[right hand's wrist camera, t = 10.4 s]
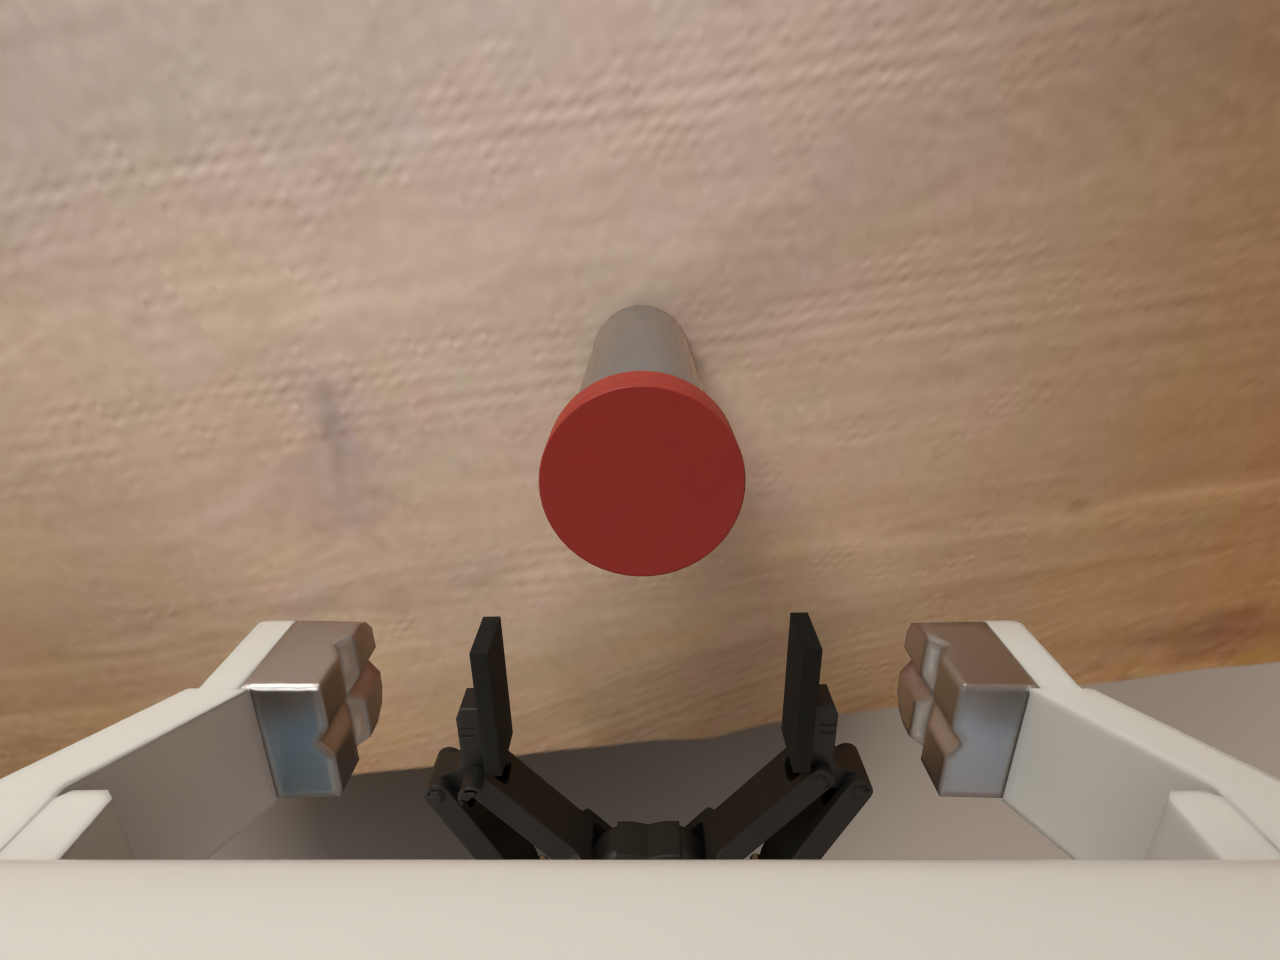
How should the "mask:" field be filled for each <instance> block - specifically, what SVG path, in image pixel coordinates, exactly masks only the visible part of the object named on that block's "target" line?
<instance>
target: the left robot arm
mask: <svg viewBox="0 0 1280 960" xmlns="http://www.w3.org/2000/svg"><path fill="white" fill-rule="evenodd" d="M821 659H822V647H821V645H820V642H819V640H818V637H817V635H816V632H815V630H814V627H813V625H812V622H811V620H810V617H809V615H808V613H791V614H790V627H789V640H788V653H787V666H786V679H785V692H784V704H783V717H782V732H783V736H784V740H785V744H786V748H785V749H784V750H783V751H782V752H781V753H780V754H778V755H777V756H776V757H775V758H774V759H773V760H772V761H770V762H769V763H768V764H767V765H766V766H765V767H763V768H762V769H761V770H760V771H759V772H758V773H757V774H755V775H754V776H753V777H752V778H751V779H750V780H748V781H747V782H746V783H745V784H744V785H743V786H742V787H740V788H739V789H738V790H737V791H736V792H735V793H734V794H732V795H731V796H730V797H729V798H728V799H727V800H725V801H724V802H723V803H722V804H721V805H720V806H719V807H717V808H716V809H715V810H713V809H712V808H706V809H705V810H704V811H703V812H701V813H700V814H699V815H698V816H697V817H696V818H695V819H694V820H692V821H691V822H690V823H689V824H688V825H687V826H685V827H682V826H679V821H663V822H658V823H654V824H643V823H637V822H618V825H617V827H614V828H612V827H611V826H609V825H608V824H607V823H606V822H605V821H603V820H602V819H601V818H600V817H599V816H597V815H596V814H595V813H594V812H593V811H591V810H590V809H585V810H584V811H581V810H580V809H578V808H577V807H576V806H575V805H574V804H572V803H571V802H570V801H569V800H568V799H566V798H565V797H564V796H563V795H562V794H560V793H559V792H558V791H557V790H555V789H554V788H553V787H552V786H551V785H549V784H548V783H547V782H546V781H544V780H543V779H542V778H541V777H540V776H539V775H537V774H536V773H535V772H534V771H532V770H531V769H530V768H529V767H528V766H526V765H525V764H524V763H523V762H522V761H520V760H519V759H518V758H517V757H516V756H514V755H513V754H512V753H511V752H509V751H508V750H509V746H510V742H511V737H512V733H513V731H512V721H511V712H510V703H509V693H508V684H507V675H506V665H505V656H504V647H503V637H502V628H501V619H500V617H483V619H482V622H481V625H480V627H479V630H478V633H477V635H476V638H475V640H474V643H473V646H472V648H471V651H470V662H471V669H472V677H473V685H474V688H467V689H466V692H465V695H464V698H463V701H462V703H461V706H460V709H459V712H458V715H457V718H456V721H457V728H458V735H459V742H460V749H461V750H458V749H456V748H453V747H446V748H443V749H442V750H440V752H439V754H438V756H437V759H436V762H435V765H434V767H433V770H432V773H431V776H430V778H429V781H428V784H427V787H426V789H425V792H424V798H425V800H426V801H427V802H428V804H429V805H430V806H431V807H432V808H433V810H434V811H435V812H436V813H437V814H438V816H439V817H440V818H441V819H442V820H443V821H444V823H445V824H446V825H447V826H448V827H449V829H450V830H451V831H452V832H453V833H454V835H455V836H456V837H457V838H458V839H459V840H460V842H461V843H462V844H463V845H464V846H465V848H466V849H467V850H468V851H469V852H470V854H471V855H472V856H473V857H474V858H475V859H476V860H548V858H547V857H546V856H544V855H541V856H539V857H538V854H537V851H536V849H535V847H534V845H535V846H536V847H537V848H538V849H540V850H541V851H542V852H544V853H545V854H546V855H547V856H549V857H550V858H551V859H552V860H743V859H744V858H746V857H747V856H748V855H749V854H750V853H752V852H753V851H754V850H755V849H756V848H758V847H759V846H760V845H761V844H762V843H764V842H765V843H764V845H763V847H762V849H761V852H760V855H759V854H752V855H751V856H750V860H820V859H821V858H822V857H823V856H824V854H825V853H826V852H827V851H828V849H829V848H830V847H831V846H832V844H833V843H834V842H835V841H836V839H837V838H838V837H839V836H840V834H841V833H842V832H843V831H844V829H845V828H846V827H847V826H848V824H849V823H850V822H851V821H852V819H853V818H854V817H855V816H856V814H857V813H858V812H859V811H860V809H861V808H862V807H863V806H864V804H865V803H866V802H867V801H868V799H869V798H870V797H871V795H872V793H873V789H872V786H871V783H870V781H869V778H868V776H867V773H866V771H865V768H864V766H863V763H862V761H861V758H860V755H859V753H858V750H857V748H856V747H855V746H854V745H852V744H850V743H842V744H840V745H838V746H835V737H836V729H837V720H838V713H837V710H836V708H835V705H834V703H833V700H832V697H831V695H830V692H829V690H828V687H827V684H822V685H819V679H820V669H821Z"/></svg>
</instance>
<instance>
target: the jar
mask: <svg viewBox="0 0 1280 960" xmlns="http://www.w3.org/2000/svg"><path fill="white" fill-rule="evenodd" d="M630 371H654V372H661V373H665V374H669V375H673V376H676V377H678V378H681V379H684V380H686V381H687V382H689V383H691V384H693V385H695V386H696V387H698V388H699V389H701V390H702V391H703V392H704V389H703V386H702V383H701V380H700V377H699V374H698V371H697V368H696V365H695V362H694V359H693V356H692V353H691V350H690V347H689V344H688V341H687V338H686V336H685V333H684V331H683V330H682V328H681V326H680V325H679V324H678V323H677V321H676V320H675V319H674V318H673V317H671V316H670V315H669V314H667V313H665V312H664V311H662V310H659V309H657V308H653V307H648V306H635V307H630V308H627V309H624V310H621V311H619V312H618V313H616V314H614V315H613V316H612V317H611V318H609V319H608V320H607V321H606V322H605V324H604V325H603V326H602V328H601V329H600V331H599V333H598V335H597V338H596V341H595V344H594V347H593V350H592V353H591V357H590V360H589V363H588V366H587V369H586V372H585V375H584V379H583V382H582V385H581V388H580V391H579V393H580V392H581V391H582V390H583V389H585V388H586V387H588V386H590V385H591V384H593V383H595V382H597V381H599V380H601V379H603V378H606V377H608V376H612V375H615V374H618V373H624V372H630Z"/></svg>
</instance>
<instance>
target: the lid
mask: <svg viewBox="0 0 1280 960" xmlns="http://www.w3.org/2000/svg"><path fill="white" fill-rule="evenodd" d="M539 490H540V497H541V502H542V506H543V509H544V511H545V514H546V517H547V519H548V521H549V523H550V524H551V526H552V528H553V530H554V531H555V532H556V534H557V535H558V537H559V538H560V539H561V540H562V541H563V542H564V543H565V545H566V546H567V547H568V548H569V549H570V550H572V551H573V552H574V553H575V554H577V555H578V556H579V557H581V558H582V559H584V560H585V561H587V562H589V563H590V564H593V565H595V566H597V567H599V568H601V569H604V570H607V571H610V572H613V573H618V574H623V575H629V576H655V575H662V574H667V573H670V572H674V571H677V570H680V569H683V568H685V567H688V566H690V565H691V564H693V563H695V562H697V561H699V560H700V559H702V558H703V557H705V556H706V555H708V554H709V553H710V552H711V551H712V550H713V549H715V548H716V547H717V546H718V545H719V544H720V543H721V542H722V540H723V539H724V538H725V537H726V536H727V534H728V533H729V531H730V530H731V528H732V527H733V525H734V523H735V521H736V519H737V517H738V515H739V512H740V509H741V506H742V503H743V498H744V493H745V469H744V462H743V459H742V455H741V451H740V449H739V446H738V444H737V441H736V439H735V436H734V434H733V431H732V429H731V426H730V424H729V422H728V420H727V418H726V417H725V415H724V413H723V412H722V410H721V409H720V408H719V407H718V405H717V404H716V403H715V402H714V401H713V400H712V399H711V398H710V397H709V396H708V395H707V394H706V393H705V392H703V391H702V390H701V389H699V388H698V387H696V386H695V385H693V384H691V383H689V382H687V381H686V380H684V379H681V378H678V377H676V376H673V375H669V374H665V373H661V372H654V371H630V372H624V373H618V374H615V375H612V376H608V377H606V378H603V379H601V380H599V381H597V382H595V383H593V384H591V385H590V386H588V387H586V388H585V389H583V390H582V391H581V392H580V393H578V394H577V395H576V396H575V397H574V398H573V399H572V400H571V401H570V402H569V403H568V404H567V405H566V406H565V408H564V409H563V411H562V412H561V414H560V415H559V417H558V418H557V420H556V422H555V424H554V426H553V429H552V431H551V434H550V436H549V439H548V442H547V444H546V447H545V450H544V453H543V456H542V459H541V464H540V469H539Z"/></svg>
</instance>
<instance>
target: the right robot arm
mask: <svg viewBox="0 0 1280 960" xmlns="http://www.w3.org/2000/svg"><path fill="white" fill-rule="evenodd" d="M375 647H376V646H375V641H374V636H373V631H372V628H371V627H370V626H369V625H368V624H367V623H366V622H338V621H296V620H289V621H265V622H261V623H258V624H257V625H256V627H255V628H254V629H253V630H252V631H251V632H250V633H249V634H248V635H247V636H246V638H245V639H244V640H243V641H242V642H241V643H240V644H239V645H238V646H237V647H236V648H235V650H234V651H233V652H232V653H231V654H230V655H229V656H228V657H227V658H226V659H225V660H224V662H223V663H222V664H221V665H220V666H219V667H218V668H217V669H216V670H215V671H214V673H213V674H212V675H211V676H210V677H209V678H208V679H207V680H206V681H205V682H204V683H203V685H202V686H201V687H200V688H199V689H186V690H184V691H182V692H180V693H178V694H175V695H173V696H171V697H169V698H167V699H165V700H163V701H161V702H159V703H157V704H155V705H153V706H151V707H149V708H146V709H144V710H142V711H140V712H138V713H136V714H134V715H132V716H130V717H128V718H126V719H124V720H122V721H120V722H118V723H115V724H113V725H111V726H109V727H107V728H105V729H103V730H101V731H99V732H97V733H95V734H93V735H91V736H89V737H86V738H84V739H82V740H80V741H78V742H76V743H74V744H72V745H70V746H68V747H66V748H64V749H62V750H60V751H57V752H55V753H53V754H51V755H49V756H47V757H45V758H43V759H41V760H39V761H37V762H35V763H33V764H31V765H28V766H26V767H24V768H22V769H20V770H18V771H16V772H14V773H12V774H10V775H8V776H6V777H4V778H2V779H0V960H1280V779H1278V778H1276V777H1274V776H1272V775H1270V774H1267V773H1265V772H1263V771H1261V770H1259V769H1257V768H1255V767H1253V766H1251V765H1249V764H1247V763H1245V762H1243V761H1241V760H1239V759H1237V758H1234V757H1232V756H1230V755H1228V754H1226V753H1224V752H1222V751H1220V750H1218V749H1216V748H1214V747H1212V746H1210V745H1208V744H1206V743H1204V742H1202V741H1199V740H1197V739H1195V738H1193V737H1191V736H1189V735H1187V734H1185V733H1183V732H1181V731H1179V730H1177V729H1175V728H1173V727H1170V726H1168V725H1166V724H1164V723H1162V722H1160V721H1158V720H1156V719H1154V718H1152V717H1150V716H1148V715H1146V714H1144V713H1142V712H1140V711H1137V710H1135V709H1133V708H1131V707H1129V706H1127V705H1125V704H1123V703H1121V702H1119V701H1117V700H1115V699H1113V698H1111V697H1109V696H1107V695H1104V694H1102V693H1100V692H1098V691H1096V690H1094V689H1081V688H1080V687H1079V686H1078V685H1077V683H1076V682H1075V681H1074V680H1073V679H1072V678H1071V677H1070V676H1069V675H1068V674H1067V673H1066V671H1065V670H1064V669H1063V668H1062V667H1061V666H1060V665H1059V664H1058V663H1057V662H1056V660H1055V659H1054V658H1053V657H1052V656H1051V655H1050V654H1049V653H1048V652H1047V651H1046V650H1045V648H1044V647H1043V646H1042V645H1041V644H1040V643H1039V642H1038V641H1037V640H1036V639H1035V637H1034V636H1033V635H1032V634H1031V633H1030V632H1029V631H1028V630H1027V629H1026V628H1025V627H1024V625H1023V624H1021V623H1019V622H1017V621H1014V620H1001V621H979V622H941V623H911V625H910V627H909V629H908V631H907V635H906V640H905V645H904V647H905V649H906V651H907V652H908V654H909V656H910V658H911V659H912V660H911V661H910V662H909V663H908V664H907V665H906V666H905V667H904V668H903V669H902V670H901V671H900V675H899V683H898V703H899V711H900V715H901V718H902V722H903V724H904V726H905V729H906V731H907V733H908V735H909V736H910V737H911V738H912V739H914V740H915V741H917V742H918V743H920V744H921V745H923V750H922V756H921V761H922V763H923V765H924V767H925V769H926V770H927V772H928V774H929V776H930V778H931V780H932V782H933V784H934V786H935V788H936V790H937V792H938V794H939V796H952V797H989V798H1003V799H1002V801H1003V802H1004V803H1005V804H1007V805H1008V806H1009V807H1010V808H1012V809H1013V810H1014V811H1015V812H1016V813H1018V814H1019V815H1020V816H1021V817H1022V818H1024V819H1025V820H1026V821H1027V822H1028V823H1030V824H1031V825H1032V826H1033V827H1034V828H1036V829H1037V830H1038V831H1039V832H1041V833H1042V834H1043V835H1044V836H1045V837H1047V838H1048V839H1049V840H1050V841H1051V842H1053V843H1054V844H1055V845H1056V846H1057V847H1059V848H1060V849H1061V850H1062V851H1064V852H1065V853H1066V854H1067V855H1068V856H1070V857H1071V858H1072V859H1073V860H207V859H208V858H209V857H210V856H212V855H213V854H214V853H215V852H217V851H218V850H219V849H220V848H221V847H223V846H224V845H225V844H226V843H228V842H229V841H230V840H231V839H232V838H234V837H235V836H236V835H237V834H238V833H240V832H241V831H242V830H243V829H245V828H246V827H247V826H248V825H249V824H251V823H252V822H253V821H254V820H255V819H257V818H258V817H259V816H260V815H262V814H263V813H264V812H265V811H266V810H268V809H269V808H270V807H271V806H272V805H274V804H275V803H276V802H277V801H278V800H277V798H292V797H327V796H341V794H342V792H343V790H344V788H345V786H346V784H347V782H348V780H349V778H350V776H351V774H352V772H353V771H354V769H355V767H356V765H357V763H358V761H359V756H358V750H357V745H359V744H360V743H362V742H363V741H365V740H366V739H368V738H369V737H370V736H371V735H372V733H373V731H374V728H375V726H376V724H377V722H378V718H379V714H380V709H381V705H382V681H381V675H380V671H379V670H378V669H377V668H376V667H375V666H374V665H373V664H372V663H371V662H370V661H369V660H368V659H369V658H370V656H371V654H372V652H373V651H374V649H375Z"/></svg>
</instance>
